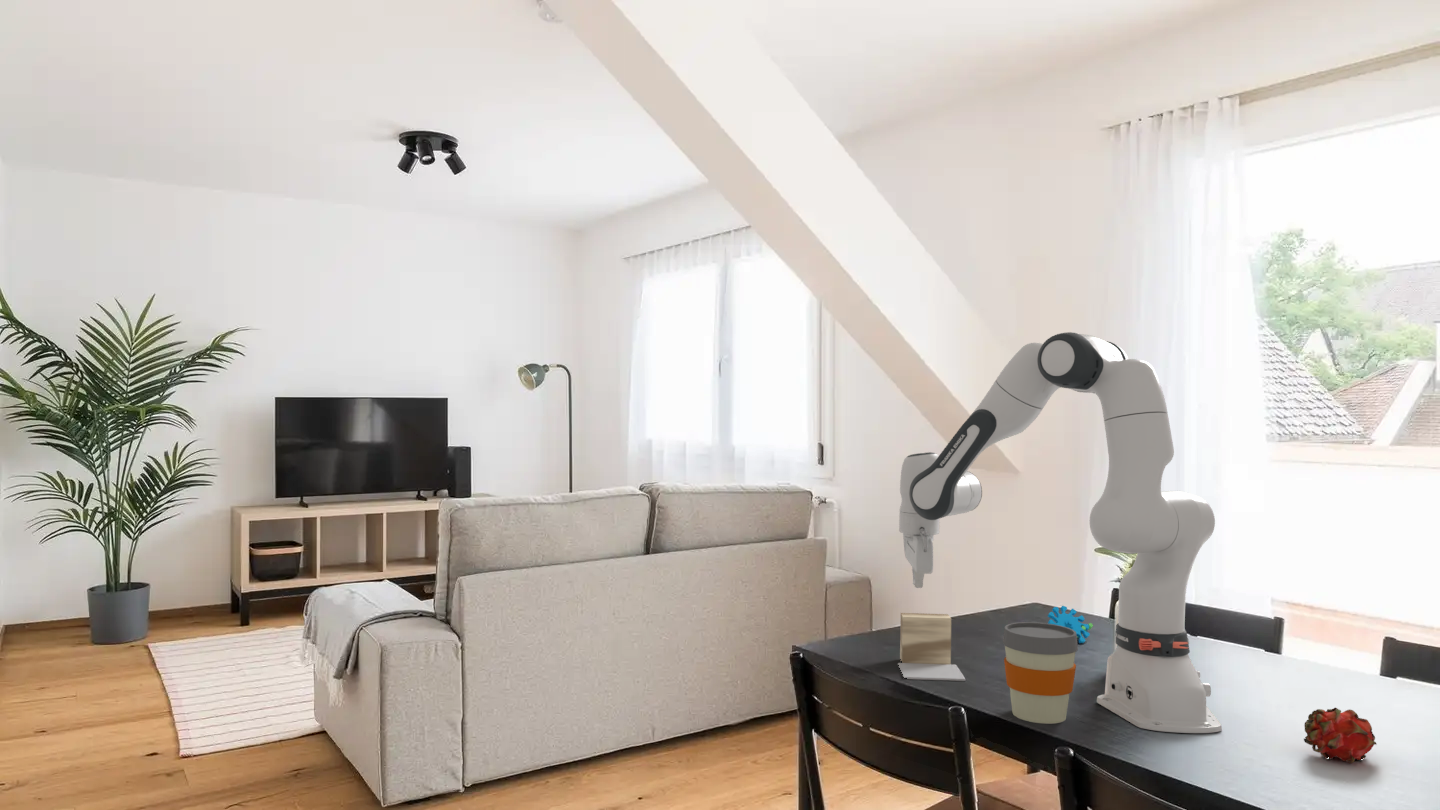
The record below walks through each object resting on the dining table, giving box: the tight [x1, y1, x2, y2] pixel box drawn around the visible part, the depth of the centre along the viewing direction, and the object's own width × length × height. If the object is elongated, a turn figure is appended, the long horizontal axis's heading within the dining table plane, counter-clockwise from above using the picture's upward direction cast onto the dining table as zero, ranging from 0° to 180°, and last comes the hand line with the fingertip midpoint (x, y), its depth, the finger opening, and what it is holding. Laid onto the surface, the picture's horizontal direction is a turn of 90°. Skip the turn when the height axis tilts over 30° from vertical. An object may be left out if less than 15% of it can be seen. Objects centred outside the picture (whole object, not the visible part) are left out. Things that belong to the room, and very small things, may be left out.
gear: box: [1047, 605, 1094, 644], centre depth 224 cm, size 11×6×10 cm
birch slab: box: [899, 612, 952, 665], centre depth 202 cm, size 4×10×10 cm, turn 86°
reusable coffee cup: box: [1002, 621, 1079, 725], centre depth 168 cm, size 13×13×15 cm
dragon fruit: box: [1303, 707, 1377, 764], centre depth 149 cm, size 8×8×12 cm
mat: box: [897, 662, 967, 682], centre depth 194 cm, size 10×12×1 cm
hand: (917, 586), depth 213 cm, fingers closed
